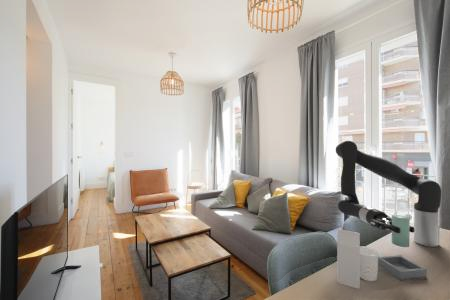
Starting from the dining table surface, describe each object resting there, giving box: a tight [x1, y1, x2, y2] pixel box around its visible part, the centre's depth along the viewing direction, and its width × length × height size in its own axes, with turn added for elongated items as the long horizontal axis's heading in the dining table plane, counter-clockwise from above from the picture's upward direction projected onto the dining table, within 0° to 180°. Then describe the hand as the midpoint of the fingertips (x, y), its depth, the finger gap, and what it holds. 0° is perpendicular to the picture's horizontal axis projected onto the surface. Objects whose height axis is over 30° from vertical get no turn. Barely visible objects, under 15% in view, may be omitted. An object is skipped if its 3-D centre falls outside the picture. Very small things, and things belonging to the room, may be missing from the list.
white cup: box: [360, 245, 380, 282], centre depth 85 cm, size 8×8×10 cm
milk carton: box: [336, 228, 361, 290], centre depth 82 cm, size 7×7×19 cm
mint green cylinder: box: [391, 214, 411, 248], centre depth 88 cm, size 6×6×11 cm
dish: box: [378, 254, 428, 282], centre depth 88 cm, size 11×11×4 cm
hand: (406, 230), depth 85 cm, fingers closed on mint green cylinder, 5 cm apart
